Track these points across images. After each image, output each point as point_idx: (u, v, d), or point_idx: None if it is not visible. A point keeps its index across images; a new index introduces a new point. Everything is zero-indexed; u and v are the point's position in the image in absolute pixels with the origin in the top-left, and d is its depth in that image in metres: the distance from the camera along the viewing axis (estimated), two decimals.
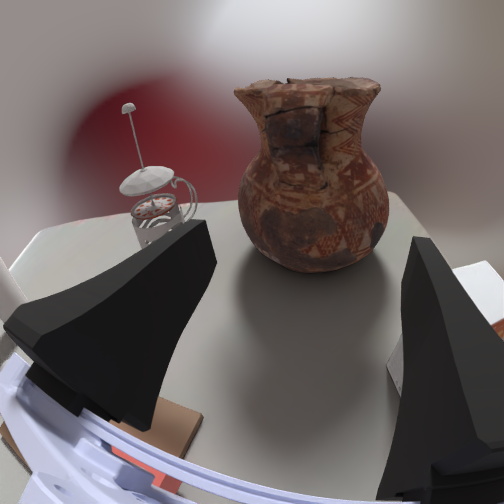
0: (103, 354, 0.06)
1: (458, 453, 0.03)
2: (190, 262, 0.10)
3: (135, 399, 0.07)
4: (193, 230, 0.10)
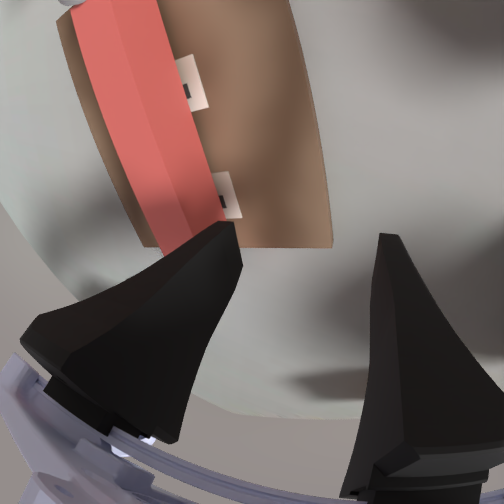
0: (135, 368, 0.06)
1: (392, 455, 0.03)
2: (219, 266, 0.09)
3: (165, 412, 0.07)
4: (223, 232, 0.09)
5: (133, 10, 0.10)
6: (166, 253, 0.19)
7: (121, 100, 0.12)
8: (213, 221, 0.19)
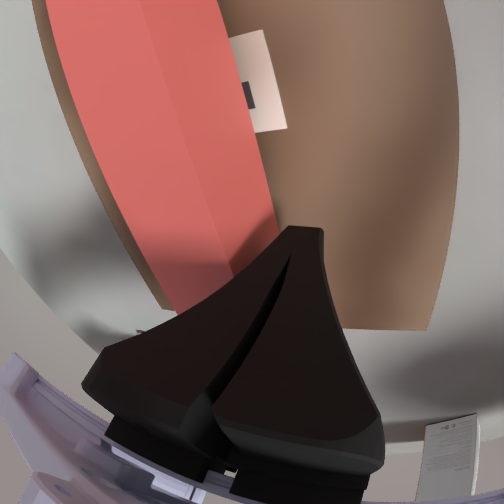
0: None
1: None
2: None
3: None
4: None
5: None
6: None
7: (126, 111, 0.06)
8: None
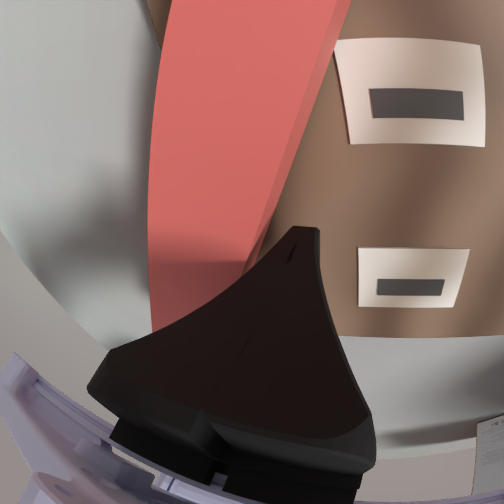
0: None
1: None
2: None
3: None
4: None
5: None
6: (157, 320, 0.11)
7: (240, 62, 0.04)
8: None
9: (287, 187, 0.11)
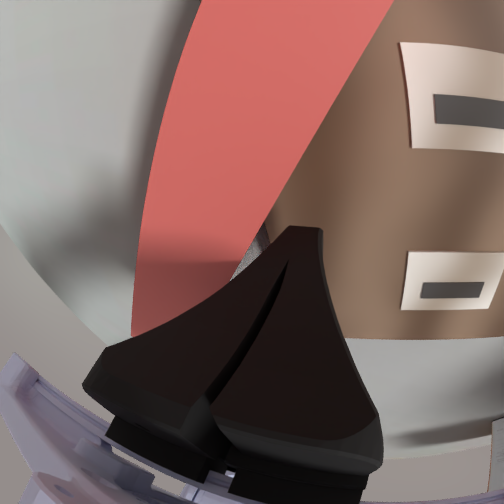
0: None
1: None
2: None
3: None
4: None
5: None
6: (140, 296, 0.11)
7: (289, 25, 0.04)
8: None
9: (344, 189, 0.10)
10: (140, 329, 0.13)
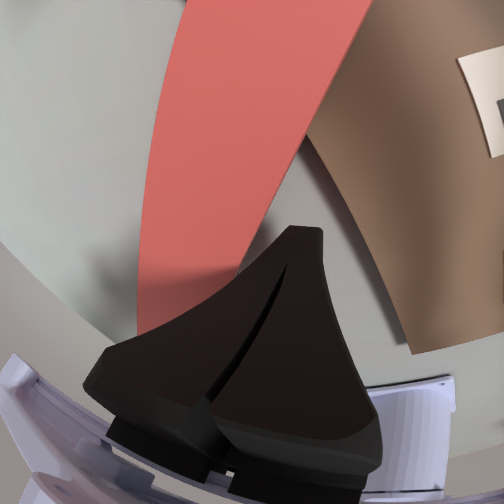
0: None
1: None
2: None
3: None
4: None
5: None
6: (143, 307, 0.11)
7: (263, 44, 0.04)
8: None
9: (443, 213, 0.09)
10: None
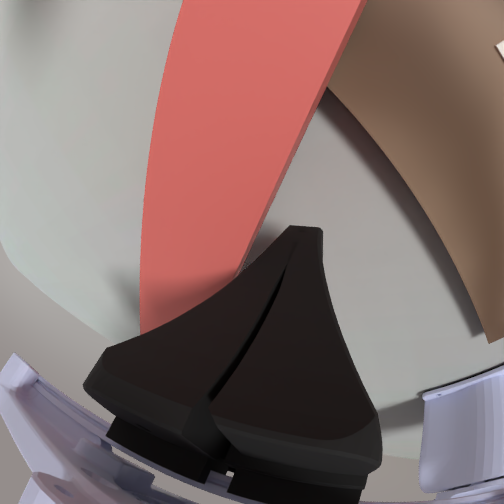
0: None
1: None
2: None
3: None
4: None
5: None
6: (146, 303, 0.11)
7: (265, 25, 0.04)
8: None
9: None
10: None
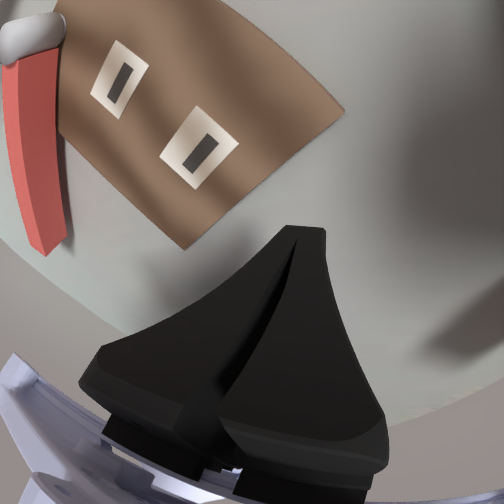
0: None
1: None
2: None
3: None
4: None
5: (33, 80, 0.14)
6: (23, 218, 0.23)
7: (14, 138, 0.16)
8: (52, 209, 0.25)
9: (121, 154, 0.20)
10: (30, 238, 0.26)
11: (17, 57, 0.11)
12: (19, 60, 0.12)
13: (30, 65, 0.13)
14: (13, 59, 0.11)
